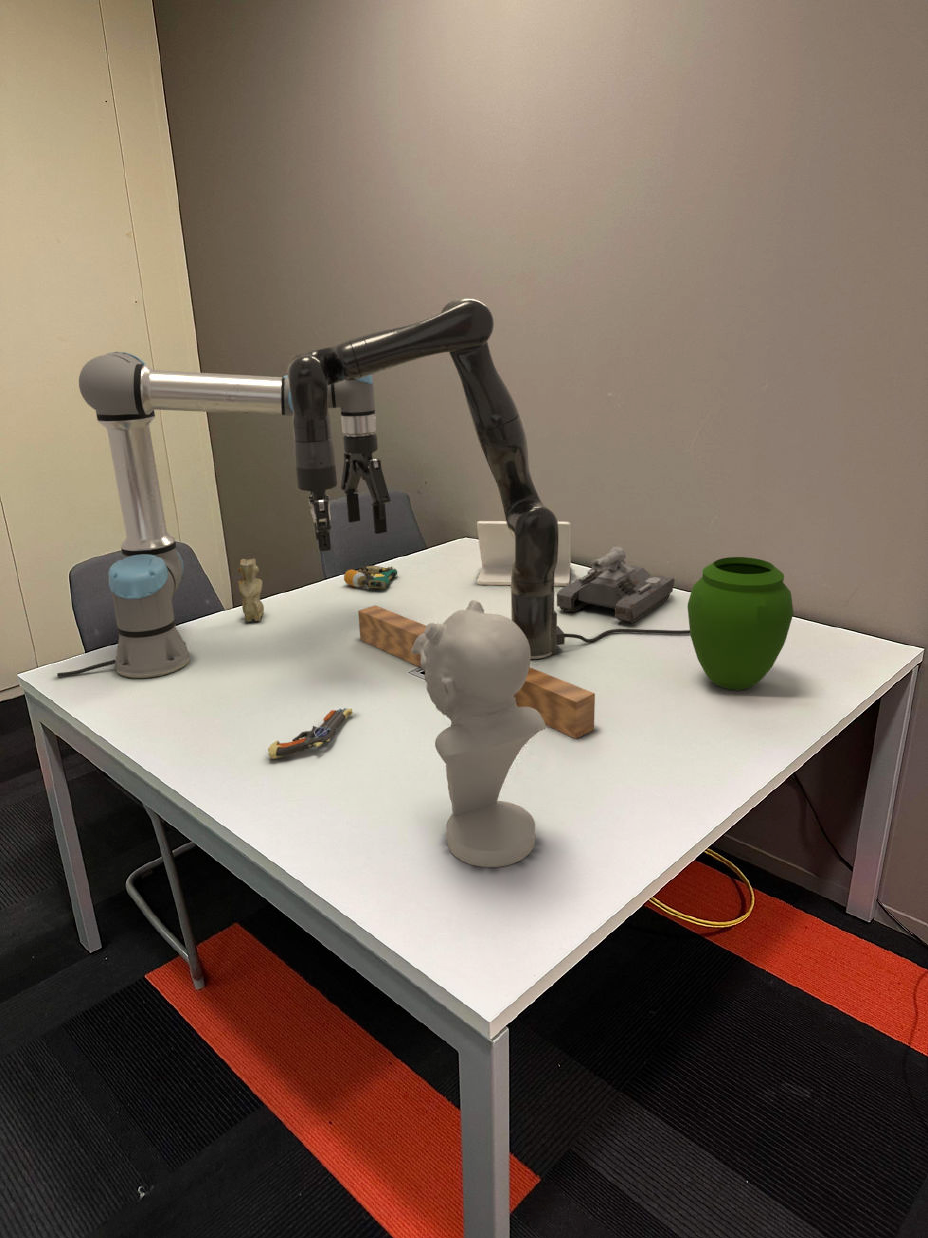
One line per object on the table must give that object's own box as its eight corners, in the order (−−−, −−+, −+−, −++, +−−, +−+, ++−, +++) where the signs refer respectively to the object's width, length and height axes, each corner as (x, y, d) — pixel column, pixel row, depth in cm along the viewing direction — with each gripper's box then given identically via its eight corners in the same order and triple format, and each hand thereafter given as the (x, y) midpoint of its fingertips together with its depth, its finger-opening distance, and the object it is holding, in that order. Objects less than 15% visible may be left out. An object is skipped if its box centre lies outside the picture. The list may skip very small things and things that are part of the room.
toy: (603, 584, 229) (605, 530, 224) (673, 597, 218) (677, 540, 213) (555, 612, 210) (556, 553, 205) (630, 627, 199) (633, 566, 194)
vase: (795, 674, 173) (808, 558, 164) (770, 712, 157) (784, 587, 149) (700, 656, 183) (708, 546, 174) (668, 690, 167) (675, 571, 159)
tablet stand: (569, 585, 229) (570, 524, 223) (476, 584, 232) (475, 523, 226) (570, 566, 246) (571, 508, 240) (484, 564, 249) (483, 507, 243)
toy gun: (263, 749, 145) (318, 746, 143) (303, 706, 163) (352, 703, 161) (266, 763, 146) (321, 761, 144) (306, 719, 164) (355, 716, 161)
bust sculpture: (481, 772, 140) (476, 569, 128) (565, 848, 120) (569, 617, 108) (392, 800, 134) (378, 588, 121) (465, 886, 114) (457, 642, 101)
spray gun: (366, 572, 247) (411, 580, 241) (334, 586, 233) (382, 594, 227) (366, 558, 246) (412, 565, 240) (334, 571, 232) (382, 579, 226)
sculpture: (268, 613, 216) (261, 555, 210) (263, 623, 209) (256, 564, 204) (245, 614, 215) (238, 556, 210) (239, 624, 209) (232, 565, 203)
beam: (594, 729, 154) (595, 693, 151) (575, 738, 151) (576, 702, 148) (377, 634, 200) (375, 605, 198) (360, 639, 197) (358, 610, 195)
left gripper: (401, 438, 181) (407, 534, 189) (350, 426, 201) (358, 514, 209) (370, 442, 178) (377, 540, 185) (321, 430, 198) (330, 519, 205)
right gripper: (338, 468, 158) (346, 552, 163) (331, 455, 171) (339, 534, 176) (297, 471, 156) (306, 556, 162) (293, 458, 169) (302, 537, 175)
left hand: (367, 527), depth 197 cm, fingers open, 13 cm apart
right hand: (323, 544), depth 169 cm, fingers open, 8 cm apart
